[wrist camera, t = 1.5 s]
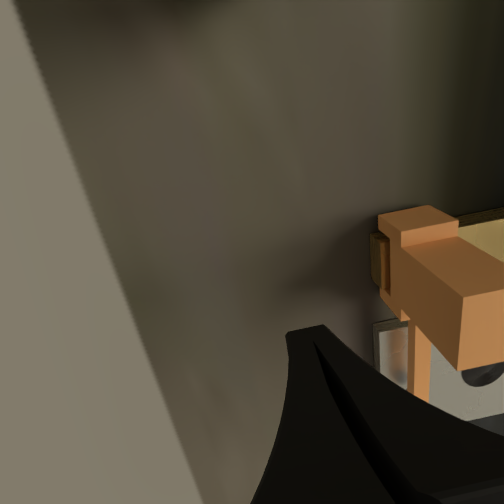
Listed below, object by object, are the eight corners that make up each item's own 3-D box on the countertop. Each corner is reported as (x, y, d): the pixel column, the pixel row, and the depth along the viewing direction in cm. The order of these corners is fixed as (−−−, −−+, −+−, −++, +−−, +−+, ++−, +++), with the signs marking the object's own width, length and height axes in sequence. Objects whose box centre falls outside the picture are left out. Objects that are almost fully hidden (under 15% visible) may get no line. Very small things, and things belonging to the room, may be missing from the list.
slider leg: (428, 204, 17) (541, 262, 11) (422, 381, 21) (500, 487, 16) (377, 214, 17) (465, 278, 11) (382, 390, 21) (446, 499, 16)
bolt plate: (630, 269, 20) (647, 277, 19) (597, 380, 23) (611, 390, 23) (372, 323, 20) (379, 333, 19) (376, 428, 23) (382, 440, 22)
